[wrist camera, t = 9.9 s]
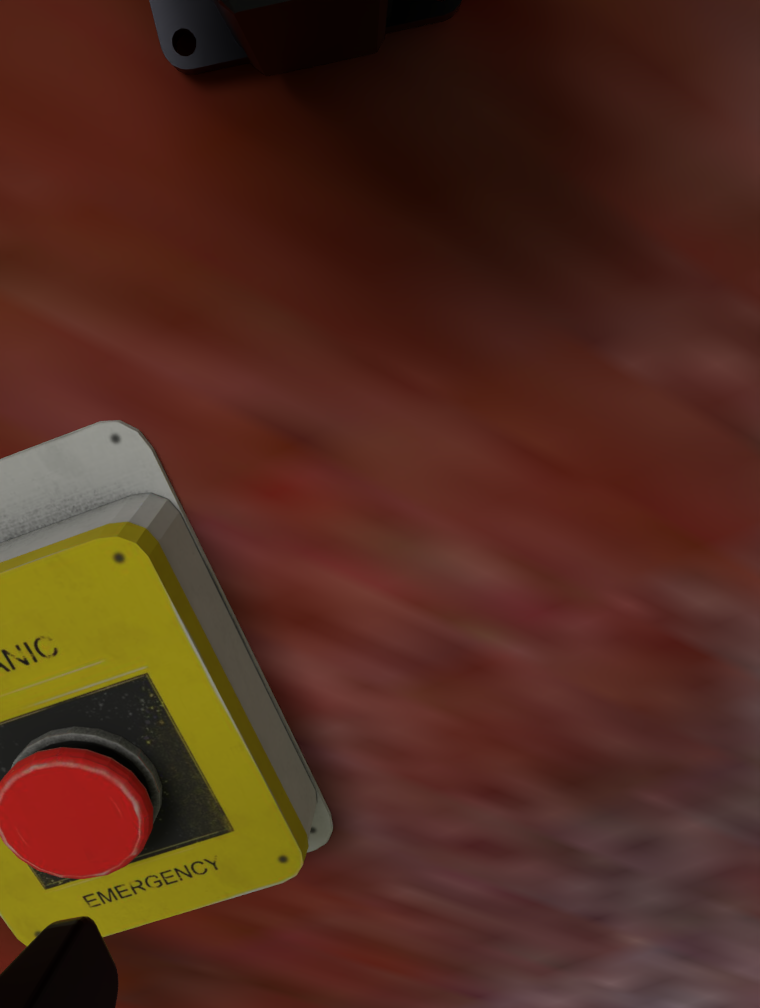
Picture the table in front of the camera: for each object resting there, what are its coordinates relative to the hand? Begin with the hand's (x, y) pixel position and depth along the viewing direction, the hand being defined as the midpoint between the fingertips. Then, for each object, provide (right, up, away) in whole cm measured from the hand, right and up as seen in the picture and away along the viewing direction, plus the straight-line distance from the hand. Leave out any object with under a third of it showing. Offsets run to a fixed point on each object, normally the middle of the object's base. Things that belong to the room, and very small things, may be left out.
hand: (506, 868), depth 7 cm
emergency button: (-9, -2, +14) cm, 17 cm away
